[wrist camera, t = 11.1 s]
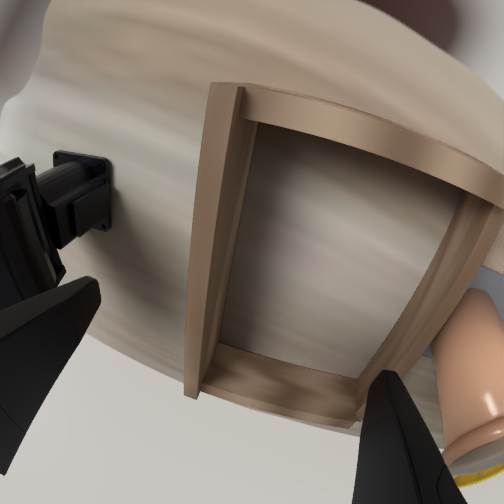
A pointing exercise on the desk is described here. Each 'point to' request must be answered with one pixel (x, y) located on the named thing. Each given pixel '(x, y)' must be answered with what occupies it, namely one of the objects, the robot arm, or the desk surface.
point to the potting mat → (493, 283)
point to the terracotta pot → (471, 384)
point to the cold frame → (225, 234)
